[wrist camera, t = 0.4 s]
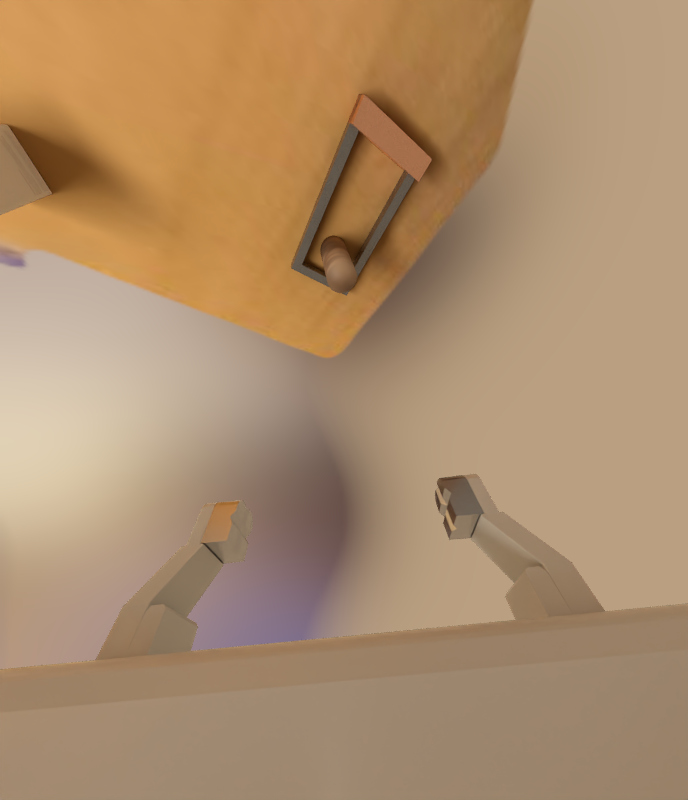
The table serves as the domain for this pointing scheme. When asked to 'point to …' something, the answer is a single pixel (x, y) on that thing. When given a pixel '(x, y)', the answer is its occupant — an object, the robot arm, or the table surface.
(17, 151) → the supplement box
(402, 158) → the guide track
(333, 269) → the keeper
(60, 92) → the table surface
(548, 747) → the robot arm
